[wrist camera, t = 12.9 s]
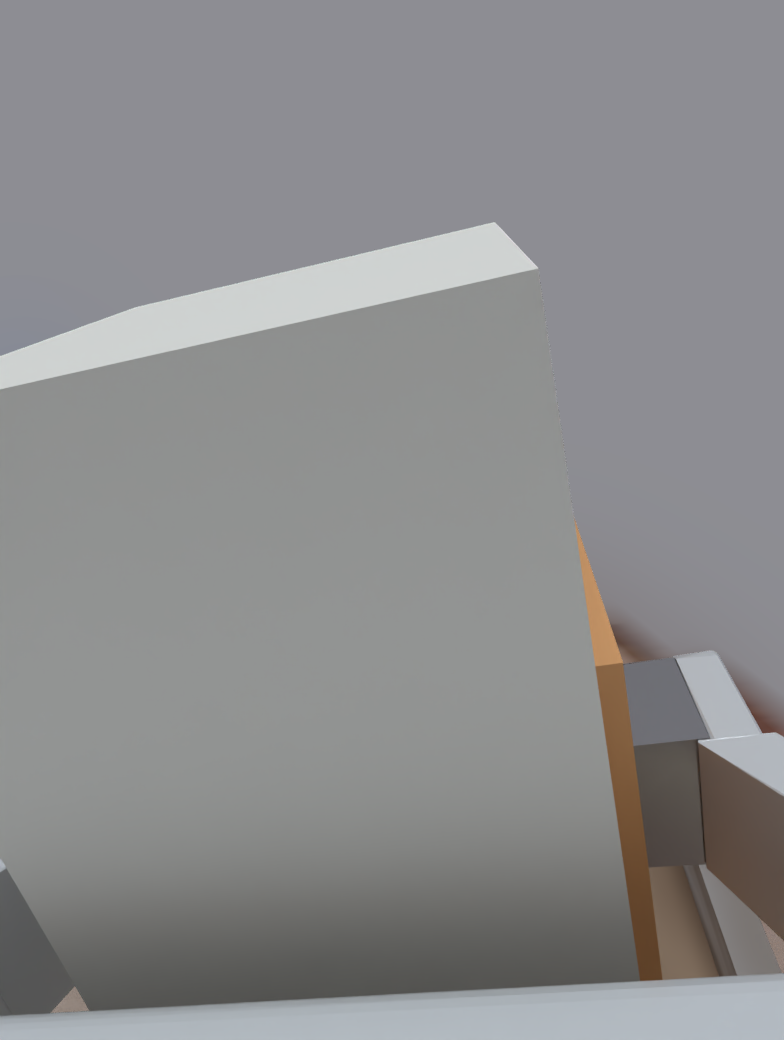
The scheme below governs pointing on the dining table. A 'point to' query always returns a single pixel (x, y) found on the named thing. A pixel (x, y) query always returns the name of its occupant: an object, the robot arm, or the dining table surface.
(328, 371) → the cream carton
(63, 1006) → the dining table surface
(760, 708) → the dining table surface
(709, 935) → the shelf board
